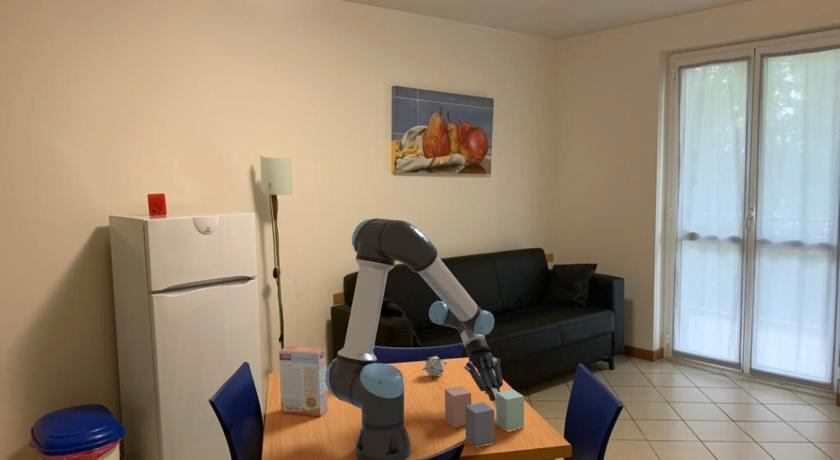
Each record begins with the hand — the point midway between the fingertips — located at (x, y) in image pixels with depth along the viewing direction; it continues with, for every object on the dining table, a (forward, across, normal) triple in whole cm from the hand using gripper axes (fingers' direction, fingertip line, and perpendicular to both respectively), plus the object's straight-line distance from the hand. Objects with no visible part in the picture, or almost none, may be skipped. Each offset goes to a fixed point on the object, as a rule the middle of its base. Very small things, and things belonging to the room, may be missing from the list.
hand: (500, 409), depth 179 cm
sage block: (+6, 0, +2) cm, 7 cm away
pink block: (0, +13, -4) cm, 14 cm away
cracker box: (-19, +55, -24) cm, 63 cm away
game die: (-28, +3, -33) cm, 44 cm away
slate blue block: (+10, +13, +6) cm, 17 cm away
